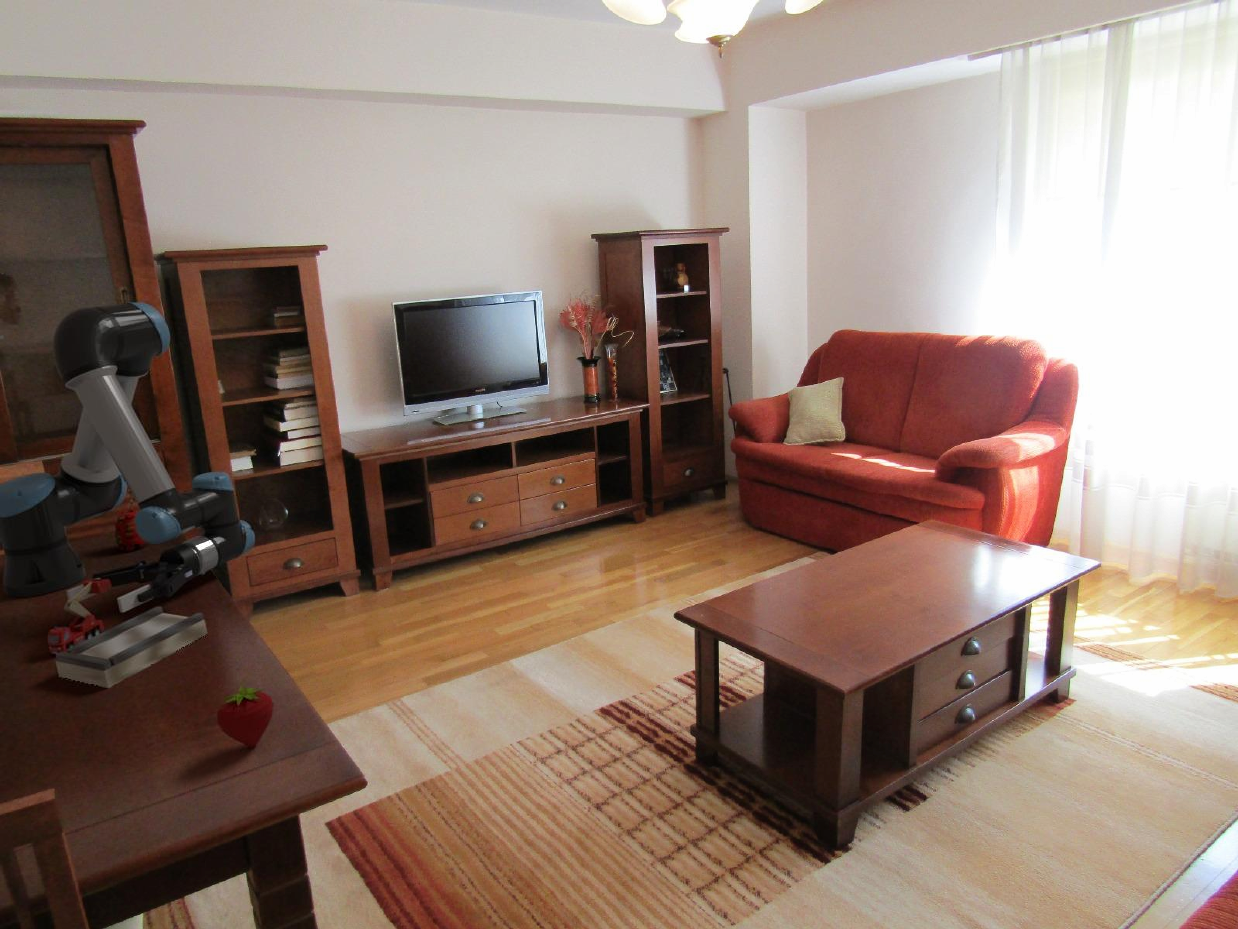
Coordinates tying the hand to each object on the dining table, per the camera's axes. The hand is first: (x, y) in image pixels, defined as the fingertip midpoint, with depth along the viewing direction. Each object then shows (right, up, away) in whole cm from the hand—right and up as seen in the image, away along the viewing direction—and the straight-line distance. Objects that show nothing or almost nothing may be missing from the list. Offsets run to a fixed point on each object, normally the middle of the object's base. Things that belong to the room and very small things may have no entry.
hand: (94, 601), depth 162 cm
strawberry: (+46, -14, -39) cm, 61 cm away
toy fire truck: (-1, -7, 0) cm, 7 cm away
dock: (+13, -8, -8) cm, 17 cm away
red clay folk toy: (-20, +5, +49) cm, 53 cm away
